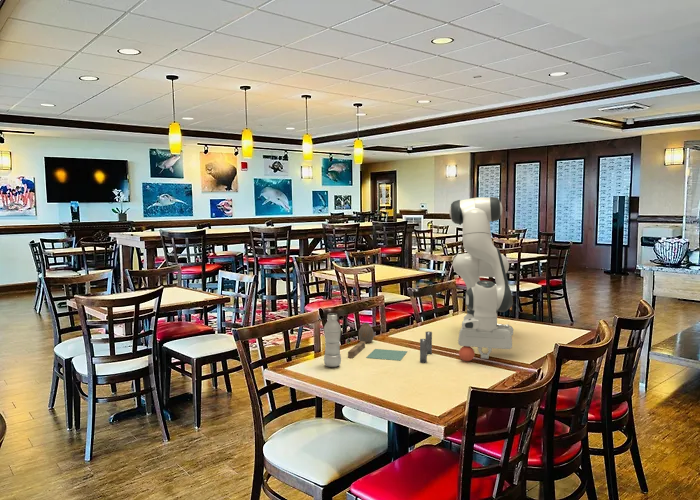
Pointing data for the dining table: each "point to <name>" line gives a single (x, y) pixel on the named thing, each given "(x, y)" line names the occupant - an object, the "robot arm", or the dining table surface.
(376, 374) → the dining table surface
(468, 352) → the ball
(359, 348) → the wall
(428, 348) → the post
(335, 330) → the plastic bottle
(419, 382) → the dining table surface
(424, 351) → the post
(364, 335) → the vase
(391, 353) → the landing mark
